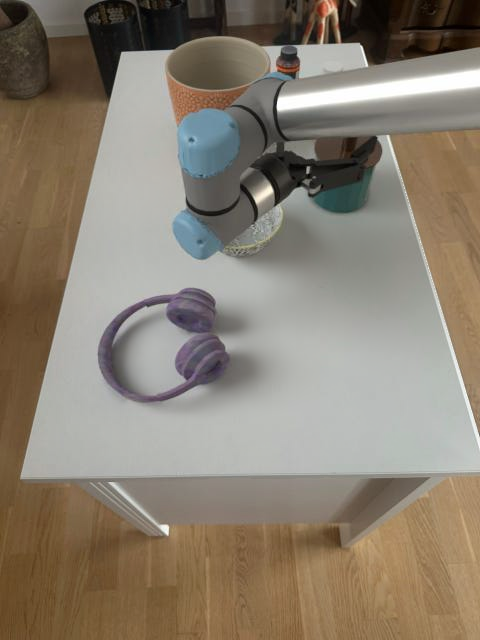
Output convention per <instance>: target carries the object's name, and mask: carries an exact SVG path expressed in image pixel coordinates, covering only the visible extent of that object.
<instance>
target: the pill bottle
mask: <svg viewBox="0 0 480 640" xmlns="http://www.w3.org/2000/svg"><path fill="white" fill-rule="evenodd" d="M344 69H345V65H344V64H343V63H342V62H341V61H339V60H327V61H325V62H324V63H323V65H322V69H321V70H322V73H320V74H319V75H323V74H329V73H334V72H340V71H344Z"/></svg>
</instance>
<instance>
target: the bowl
mask: <svg viewBox="0 0 480 640" xmlns="http://www.w3.org/2000/svg"><path fill="white" fill-rule="evenodd" d="M283 221H284V211H283V207H282V205H281V203H279V204H278V205H277V206H275V207H273V208H272V209H271V210H270V211H269V212H267V213H266V214H265V215H264V216H262V217H261V218H260V219H259V220H257V221H256V222H255V223H253V224H252V225H251V226H250V227H249V228H247V229H246V230H245V231H244V232H243V233H241V234H240V235H239V236H238V237H236V238H235V239H234V240H233V241H232V242H230V243H229V244H228V245H227V246H225V248H224V249H222V250H219V251H218V252H220V253H222V254H223V255H226V256H230V257H248V256H251V255H254V254H257V253H258V252H260V251H262V250H263V249H264V248H265V247H266V246H268V244H269V243H270V242H271V240H272V239H273V238H274V236H275V235H276V233H277V232H278V231H279V230H280V228H281V226H282V223H283Z"/></svg>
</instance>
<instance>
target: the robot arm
mask: <svg viewBox="0 0 480 640" xmlns="http://www.w3.org/2000/svg"><path fill="white" fill-rule="evenodd" d="M475 130H480V46H479V47H473V48H468V49H462V50H457V51H449V52H444V53H439V54H433V55H428V56H421V57H416V58H412V59H405V60H399V61H393V62H388V63H386V62H385V63H381V64H376V65H375V64H374V65H370V66H364V67H363V66H362V67H357V68H353V69H347V70H343V71H340V72H334V73H329V74H323V75H320V74H317V75H311V76H306V77H301V78H300V77H299V79H293V78H291V77H290V76H288V75H285V74H283V73H281V72H275V71H273V72H272V71H271V72H270V73H269V74H267V75H265V76H264V77H262V78H261V79H259V80H257V81H255V82H254V83H253V84H252V85H250V87H249V88H248V89H247V90H246V91H245V92H244V93H243V94H242V95H241V96H240V97H238V98H237V99H236V100H235V101H234V102H233V103H232V104H231V105H230V106H229V107H227V108H226V109H225V110H224V111H222V110H219V109H210V108H209V109H201V110H199V112H198V113H190V114H188V115H187V116H186V117H184V118H183V120H182V121H181V122H180V124H179V127H177V131H176V132H177V133H176V136H177V151H178V153H177V160H178V163H179V165H180V171H181V176H182V177H181V178H182V183H183V188H184V194H185V199H184V200H185V207H186V208H185V209H183V210H180V212H179V213H178V214H177V215H176V216H175V217H174V218H173V222H172V223H171V228H172V234H173V235H174V238H175V240H176V242H177V243H178V245H179V246H180V248H182V250H183V251H184V252H186V254H188V255H189V256H190V257H192V258H193V259H195V260H199V261H205V260H207V259H209V258H211V257H213V255H215V254H217V253H218V252H220V251H219V250H222V249H224V248H225V246H227V245H228V244H229V243H230V242H232V241H233V240H234V239H235V238H236V237H238V236H239V235H240V234H241V233H243V232H244V231H245V230H246V229H247V228H249V227H250V226H251V225H252V224H253V223H255V222H256V221H257V220H259V219H260V218H261V217H262V216H264V215H265V214H266V213H267V212H269V211H270V210H271V209H272V208H273V207H275V206H277V205H278V204H279V203H280V204H281V203H282V202H283V201H284V200H286V199H287V198H288V197H289V196H290V195H291V194H292V193H293V192H294V191H295V190H296V189H299V188H303V189H304V190H306V191H307V197H309V198H311V199H313V197H315V196H317V195H318V194H320V193H321V192H324V191H328V190H332V189H335V188H339V187H343V186H346V185H350V184H354V183H358V182H361V181H362V180H363V176H364V173H365V169H366V166H365V165H364V164H365V163H367V162H368V159H369V155H370V154H371V153H373V152H374V149H375V146H376V142H377V140H379V139H378V137H379V136H397V135H413V134H430V133H446V132H461V131H475ZM365 136H373V137H371V138H370V139H369V140H368V141H366V142H365V143H364V144H363V145H361V146H360V147H359V148H357V149H356V150H355V151H354V152H352V153H351V155H350V158H344V159H333V160H321V161H316V160H315V158H305V157H304V156H301V155H299V154H296V152H294V151H292V150H285V143H288V142H289V143H290V142H295V141H296V142H297V141H298V142H300V141H316V140H317V139H333V138H349V137H365ZM274 144H276V145H275V151H274V152H267V153H266V151H267V150H268V148H269V147H271V145H274ZM308 167H309V169H307V168H308ZM307 170H309V171H308V173H307Z"/></svg>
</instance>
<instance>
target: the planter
mask: <svg viewBox="0 0 480 640" xmlns="http://www.w3.org/2000/svg"><path fill="white" fill-rule="evenodd" d="M271 63H272V62H271V58H270V55H269V53H268V52H267V50H266V49H264V48H263V47H262V46H260V45H259V44H257V43H256V42H253V41H251V40H248V39H246V38H240V37H235V36H229V35H228V36H227V35H226V36H225V35H223V36H221V35H217V36H216V35H215V36H214V35H213V36H207V37H200V38H196V39H193V40H190V41H187V42H185V43H183V44H181V45H179V46H178V47H176V48H175V49H174V50H172V51H171V52H170V53H169V54H168V56H167V58H166V59H165V62H164V69H165V70H164V71H165V77H166V78H165V79H166V83H167V89H168V93H169V99H170V104H171V107H172V112H173V116H174V120H175V123H176V127H177V128H178V127H179V124H180V122H181V121H182V120H183V118H184V117H186V116H187V115H188V114H190V113H198V112H199V110H201V109H209V108H210V109H219V110H222V111H224V110H225V109H226V108H227V107H229V106H230V105H231V104H232V103H233V102H234V101H235V100H236V99H237V98H238V97H240V96H241V95H242V94H243V93H244V92H245V91H246V90H247V89H248V88H249V87H250V85H252V84H253V83H254V82H255V81H257V80H259V79H261V78H262V77H264V76H265V75H267V74H269V73H271V67H272V66H271Z"/></svg>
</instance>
